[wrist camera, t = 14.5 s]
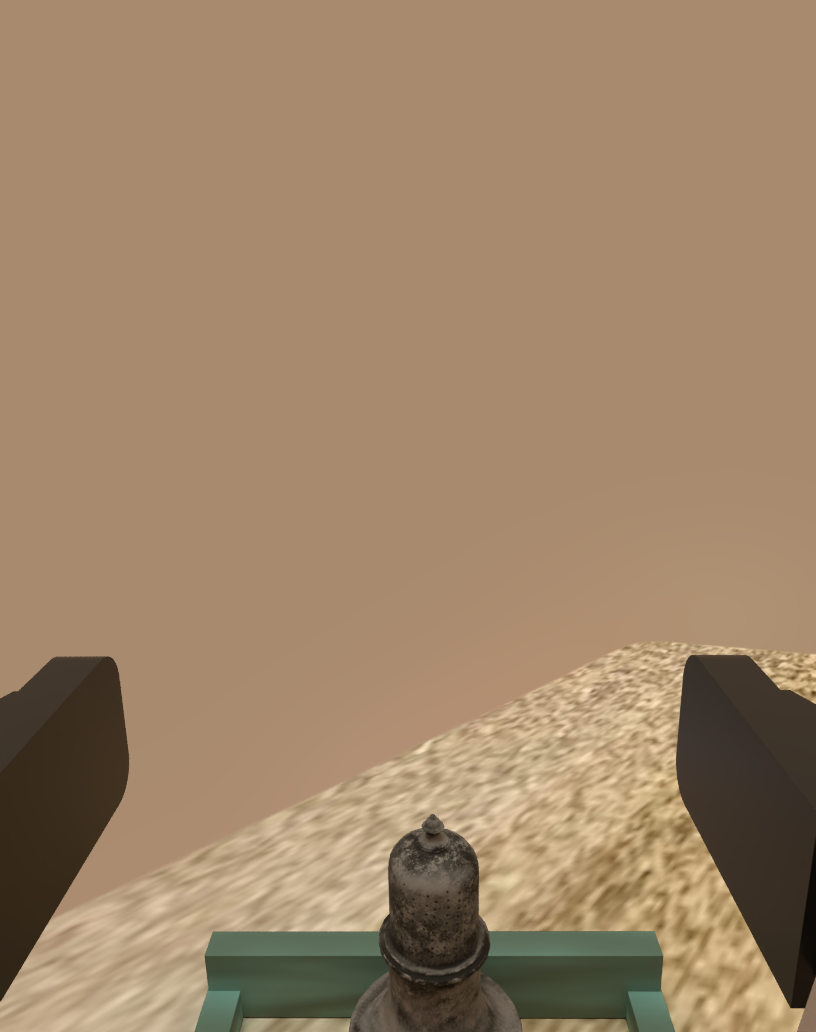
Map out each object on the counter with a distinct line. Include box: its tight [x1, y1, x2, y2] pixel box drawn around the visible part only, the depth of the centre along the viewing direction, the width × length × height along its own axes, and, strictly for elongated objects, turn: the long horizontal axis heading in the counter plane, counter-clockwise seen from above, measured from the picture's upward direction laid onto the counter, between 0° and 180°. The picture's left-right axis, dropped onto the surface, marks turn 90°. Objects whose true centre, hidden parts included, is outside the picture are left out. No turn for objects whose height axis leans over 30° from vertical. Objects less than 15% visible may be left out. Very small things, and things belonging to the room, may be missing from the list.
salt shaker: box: [349, 814, 522, 1032], centre depth 26 cm, size 6×6×12 cm
